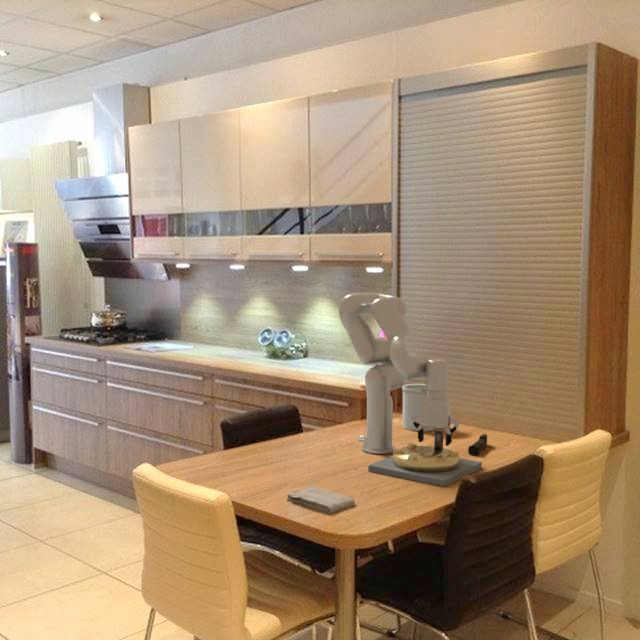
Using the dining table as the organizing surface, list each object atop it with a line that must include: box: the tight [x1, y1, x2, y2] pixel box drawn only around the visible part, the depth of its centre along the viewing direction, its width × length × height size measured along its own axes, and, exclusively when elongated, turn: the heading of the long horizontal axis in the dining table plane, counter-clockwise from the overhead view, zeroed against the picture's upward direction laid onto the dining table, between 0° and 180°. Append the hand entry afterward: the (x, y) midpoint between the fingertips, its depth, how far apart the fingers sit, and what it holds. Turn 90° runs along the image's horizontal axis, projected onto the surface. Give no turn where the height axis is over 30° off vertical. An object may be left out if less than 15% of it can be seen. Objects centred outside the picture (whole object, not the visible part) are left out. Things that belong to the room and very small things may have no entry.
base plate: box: [367, 455, 483, 487], centre depth 261 cm, size 28×28×2 cm
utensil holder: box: [401, 383, 436, 432], centre depth 324 cm, size 15×15×18 cm
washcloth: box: [286, 485, 356, 514], centre depth 224 cm, size 12×18×3 cm, turn 49°
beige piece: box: [392, 429, 460, 472], centre depth 260 cm, size 22×22×9 cm
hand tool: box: [467, 433, 488, 456], centre depth 288 cm, size 19×4×5 cm, turn 152°
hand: (434, 443), depth 268 cm, fingers open, 9 cm apart
